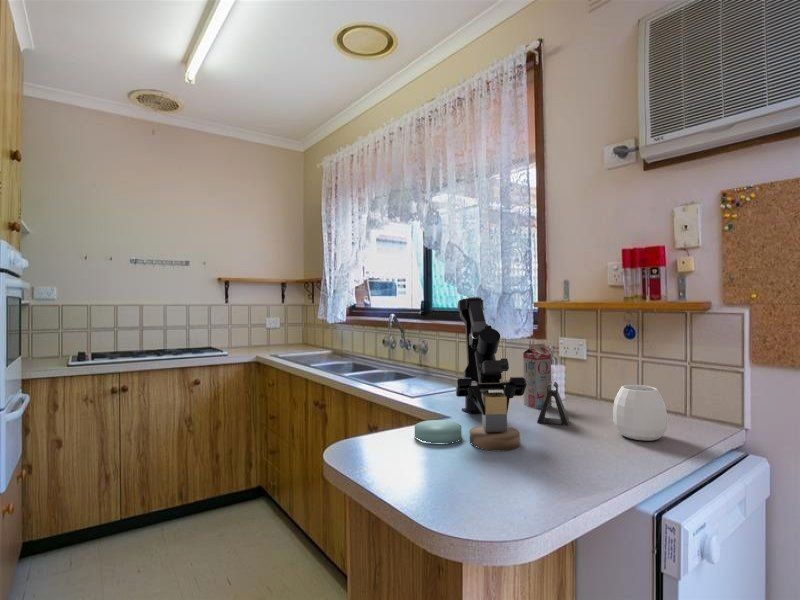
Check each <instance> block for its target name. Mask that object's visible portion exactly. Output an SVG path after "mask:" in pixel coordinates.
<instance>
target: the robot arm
mask: <svg viewBox="0 0 800 600" xmlns="http://www.w3.org/2000/svg"><path fill="white" fill-rule="evenodd" d="M484 307H485V306H484V299H482V297H479V296H468V297H465V298H461V299H459V300H458V302H457V311H458V312H459V317H460V320H462V322H463V323H464V330H465V347H466V361H467V365H466V367H465V368H464V370H463V374H462V377H458V378H457V379H456V383H455V395H456V397H458V398H461V397H462V398H464V399H465V407H463V408H461V411H464V412H465V413H468V414H470V415H475V414H481V415H482V414H483V415H485V409H484V405H483V401H482V393H490V392H489V391H503V392H502V393H503V394H504V395H505V396H506V397H507V413H508V411H509V405H510V399H513V398H514V397H521V396H524V391H525V388H526V385H527V383H526V380H525V379H524V376H510V377H509V380H508V382H504V381H503V382H502V381H501V380H502V378H503V376H502V375H503V374H502V373H504V372H508V371H509V368H510V365H509V360H508V358H500V359H499V360H498V359H496V354H497V352H498V348H499V345H500V340H501V333H500V332H499V331H498V330H497V329H495V328H493V327H492V325H489V324H488V323H486V318H485V314H484Z"/></svg>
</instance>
